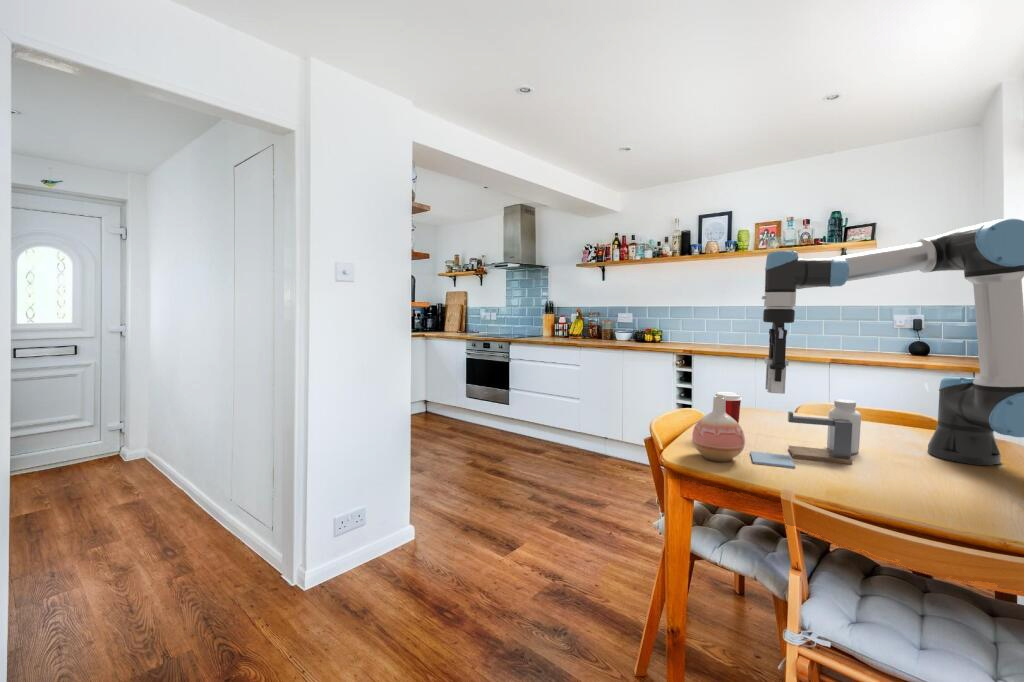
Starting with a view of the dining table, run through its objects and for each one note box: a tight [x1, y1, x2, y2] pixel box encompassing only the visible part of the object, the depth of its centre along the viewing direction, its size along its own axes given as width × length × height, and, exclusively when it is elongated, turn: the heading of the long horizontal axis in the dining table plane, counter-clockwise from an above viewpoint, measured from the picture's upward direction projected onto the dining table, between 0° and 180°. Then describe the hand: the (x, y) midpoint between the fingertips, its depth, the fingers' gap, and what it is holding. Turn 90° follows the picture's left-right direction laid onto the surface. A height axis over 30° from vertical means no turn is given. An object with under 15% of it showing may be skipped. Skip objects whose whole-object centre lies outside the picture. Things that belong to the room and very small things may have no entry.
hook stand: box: [787, 411, 853, 465], centre depth 136 cm, size 15×9×12 cm, turn 68°
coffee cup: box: [713, 391, 743, 425], centre depth 153 cm, size 8×8×15 cm
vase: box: [691, 395, 746, 463], centre depth 134 cm, size 14×14×18 cm
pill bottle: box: [826, 398, 862, 455], centre depth 142 cm, size 8×8×15 cm
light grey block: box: [764, 356, 790, 394], centre depth 132 cm, size 5×7×9 cm
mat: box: [749, 450, 796, 469], centre depth 133 cm, size 10×10×1 cm
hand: (774, 390), depth 132 cm, fingers closed on light grey block, 7 cm apart
